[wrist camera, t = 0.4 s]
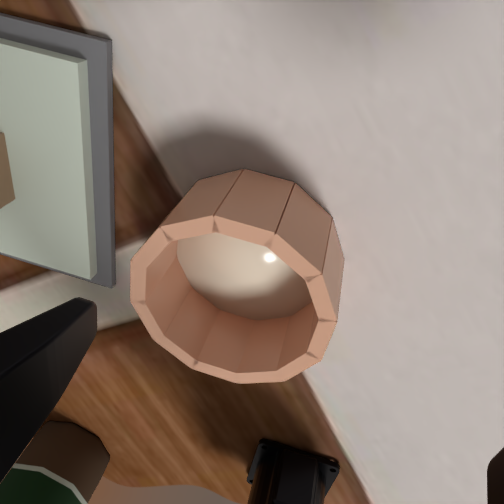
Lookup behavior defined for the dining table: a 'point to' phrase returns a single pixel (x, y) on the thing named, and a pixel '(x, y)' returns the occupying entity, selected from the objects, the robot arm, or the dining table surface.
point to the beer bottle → (56, 467)
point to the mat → (100, 124)
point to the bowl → (241, 279)
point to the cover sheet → (46, 159)
